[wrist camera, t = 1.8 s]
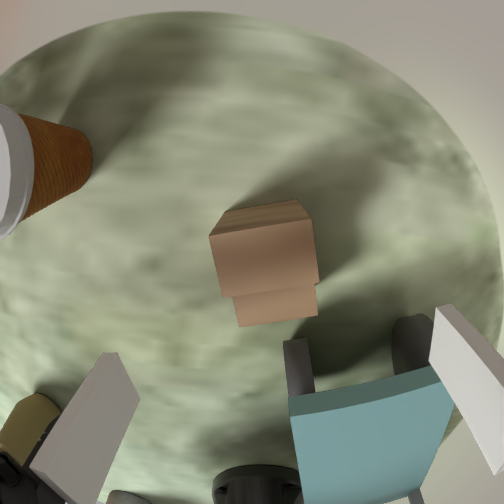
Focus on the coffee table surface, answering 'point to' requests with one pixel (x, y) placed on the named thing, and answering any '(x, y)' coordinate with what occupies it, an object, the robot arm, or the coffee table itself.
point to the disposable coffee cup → (37, 165)
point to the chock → (267, 262)
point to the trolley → (369, 424)
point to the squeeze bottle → (26, 426)
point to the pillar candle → (124, 498)
